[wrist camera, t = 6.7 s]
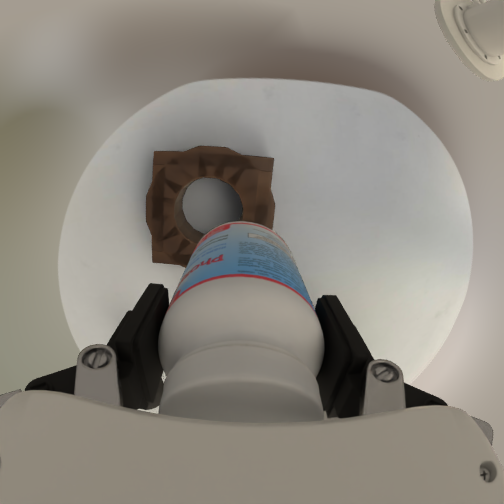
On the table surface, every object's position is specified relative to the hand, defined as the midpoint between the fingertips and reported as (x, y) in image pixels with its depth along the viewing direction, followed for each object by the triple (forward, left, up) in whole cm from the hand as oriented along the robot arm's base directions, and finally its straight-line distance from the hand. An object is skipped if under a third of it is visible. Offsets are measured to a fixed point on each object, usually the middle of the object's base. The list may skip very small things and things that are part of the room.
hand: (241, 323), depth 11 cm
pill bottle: (0, 0, -6) cm, 6 cm away
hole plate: (-1, -4, -22) cm, 22 cm away
